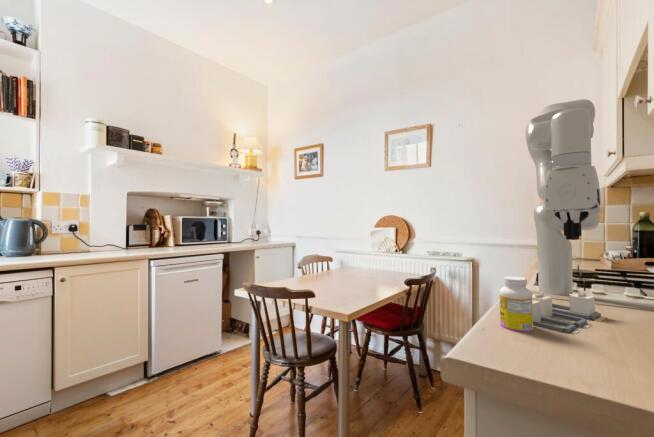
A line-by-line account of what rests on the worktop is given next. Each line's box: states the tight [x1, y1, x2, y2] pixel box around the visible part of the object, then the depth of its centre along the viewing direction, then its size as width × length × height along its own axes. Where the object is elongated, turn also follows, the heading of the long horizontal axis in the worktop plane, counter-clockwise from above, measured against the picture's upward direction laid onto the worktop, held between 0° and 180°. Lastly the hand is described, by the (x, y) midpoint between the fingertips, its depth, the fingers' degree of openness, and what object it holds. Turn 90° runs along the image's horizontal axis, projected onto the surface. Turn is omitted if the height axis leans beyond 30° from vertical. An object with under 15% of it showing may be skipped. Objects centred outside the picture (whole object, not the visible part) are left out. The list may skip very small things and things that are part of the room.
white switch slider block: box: [569, 292, 596, 316], centre depth 81 cm, size 4×4×6 cm
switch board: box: [532, 300, 608, 335], centre depth 80 cm, size 22×15×7 cm
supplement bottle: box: [499, 275, 534, 333], centre depth 74 cm, size 7×7×13 cm
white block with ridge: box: [532, 292, 553, 318], centre depth 82 cm, size 4×4×6 cm
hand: (572, 239), depth 76 cm, fingers closed
